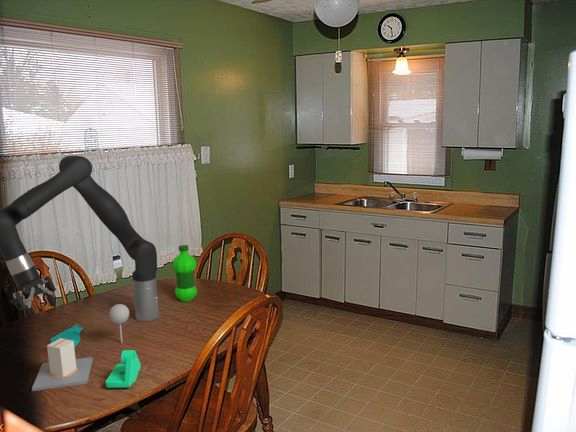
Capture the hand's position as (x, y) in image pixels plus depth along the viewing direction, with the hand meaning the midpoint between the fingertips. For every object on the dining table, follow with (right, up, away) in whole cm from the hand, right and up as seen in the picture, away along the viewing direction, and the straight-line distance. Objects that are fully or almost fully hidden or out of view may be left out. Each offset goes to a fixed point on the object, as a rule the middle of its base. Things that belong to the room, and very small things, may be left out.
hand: (44, 311), depth 173 cm
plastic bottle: (+37, -5, +57) cm, 68 cm away
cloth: (0, -15, +19) cm, 24 cm away
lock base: (+10, -19, -7) cm, 23 cm away
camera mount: (+31, -20, -10) cm, 38 cm away
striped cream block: (+10, -18, -7) cm, 22 cm away
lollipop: (+22, -15, +15) cm, 30 cm away
